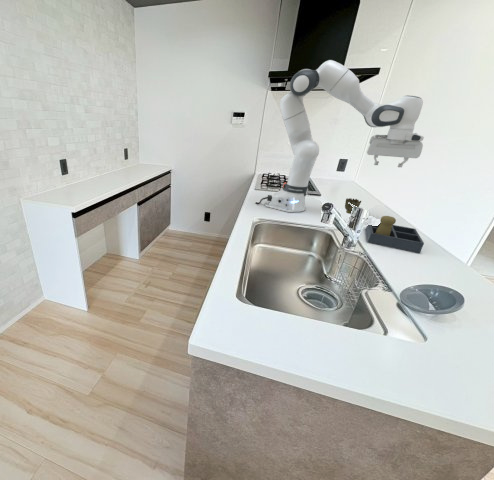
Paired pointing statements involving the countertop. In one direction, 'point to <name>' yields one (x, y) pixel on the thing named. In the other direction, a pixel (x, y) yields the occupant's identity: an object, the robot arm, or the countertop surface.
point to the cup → (348, 206)
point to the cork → (385, 225)
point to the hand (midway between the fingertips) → (387, 166)
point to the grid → (396, 238)
